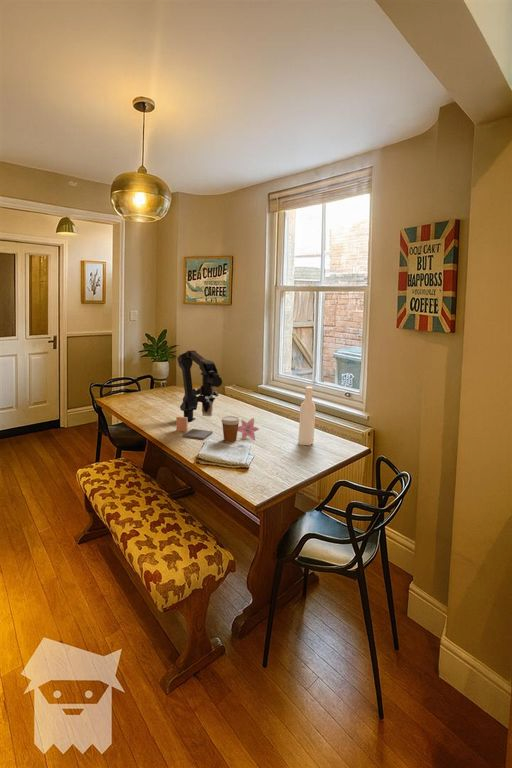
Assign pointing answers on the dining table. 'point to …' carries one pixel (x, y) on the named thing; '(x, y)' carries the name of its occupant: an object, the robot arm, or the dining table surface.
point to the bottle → (307, 419)
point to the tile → (181, 423)
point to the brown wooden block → (209, 412)
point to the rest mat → (198, 434)
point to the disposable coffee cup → (230, 428)
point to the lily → (248, 429)
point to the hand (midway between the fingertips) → (207, 411)
